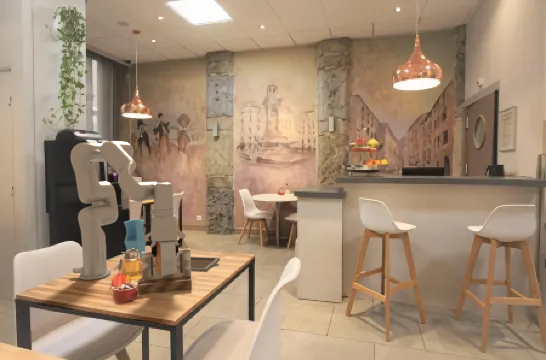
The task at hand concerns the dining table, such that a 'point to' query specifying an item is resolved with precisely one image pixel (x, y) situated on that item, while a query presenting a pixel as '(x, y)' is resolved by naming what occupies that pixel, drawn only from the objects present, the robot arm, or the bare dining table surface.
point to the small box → (165, 257)
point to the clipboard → (203, 263)
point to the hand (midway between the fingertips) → (165, 255)
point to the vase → (135, 235)
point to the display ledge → (167, 282)
